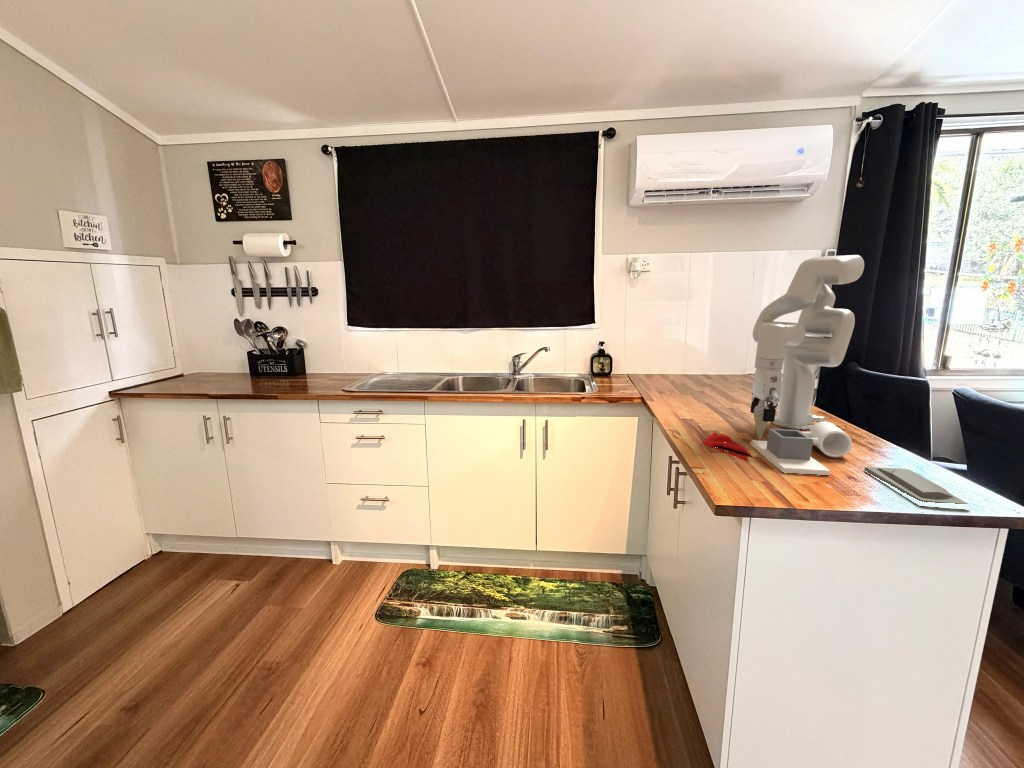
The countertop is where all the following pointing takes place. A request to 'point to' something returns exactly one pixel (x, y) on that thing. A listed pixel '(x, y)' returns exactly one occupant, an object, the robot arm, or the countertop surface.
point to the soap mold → (914, 485)
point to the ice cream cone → (760, 418)
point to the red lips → (726, 445)
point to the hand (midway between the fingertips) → (761, 417)
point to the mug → (830, 439)
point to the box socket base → (790, 452)
